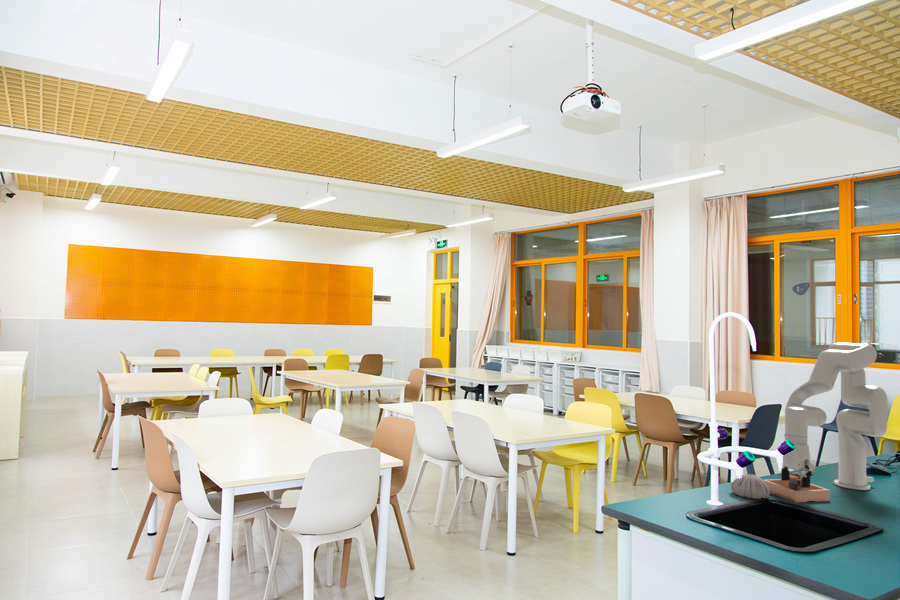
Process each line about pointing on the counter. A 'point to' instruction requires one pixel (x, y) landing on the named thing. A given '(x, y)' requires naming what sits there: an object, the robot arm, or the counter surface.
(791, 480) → the battery cell
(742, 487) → the sea urchin shell
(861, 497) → the counter surface
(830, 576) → the counter surface
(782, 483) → the tray
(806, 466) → the robot arm
